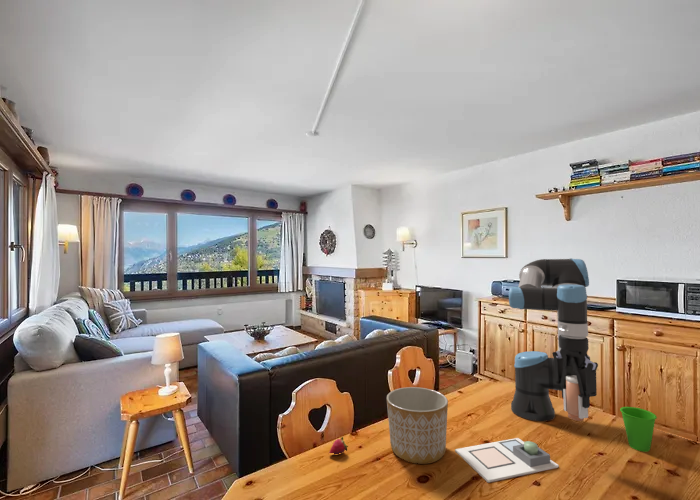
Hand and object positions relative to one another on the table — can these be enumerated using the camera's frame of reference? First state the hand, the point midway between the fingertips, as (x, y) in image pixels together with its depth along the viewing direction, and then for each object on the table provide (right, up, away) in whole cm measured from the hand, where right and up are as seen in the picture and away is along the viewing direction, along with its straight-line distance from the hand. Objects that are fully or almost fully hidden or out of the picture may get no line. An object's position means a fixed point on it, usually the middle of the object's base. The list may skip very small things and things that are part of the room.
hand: (575, 413), depth 103 cm
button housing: (-14, -14, 0) cm, 20 cm away
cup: (+24, -14, +6) cm, 29 cm away
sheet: (-21, -14, +1) cm, 25 cm away
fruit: (-72, -15, +5) cm, 74 cm away
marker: (0, -1, 0) cm, 1 cm away
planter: (-46, -15, +6) cm, 49 cm away
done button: (-14, -12, 0) cm, 18 cm away
